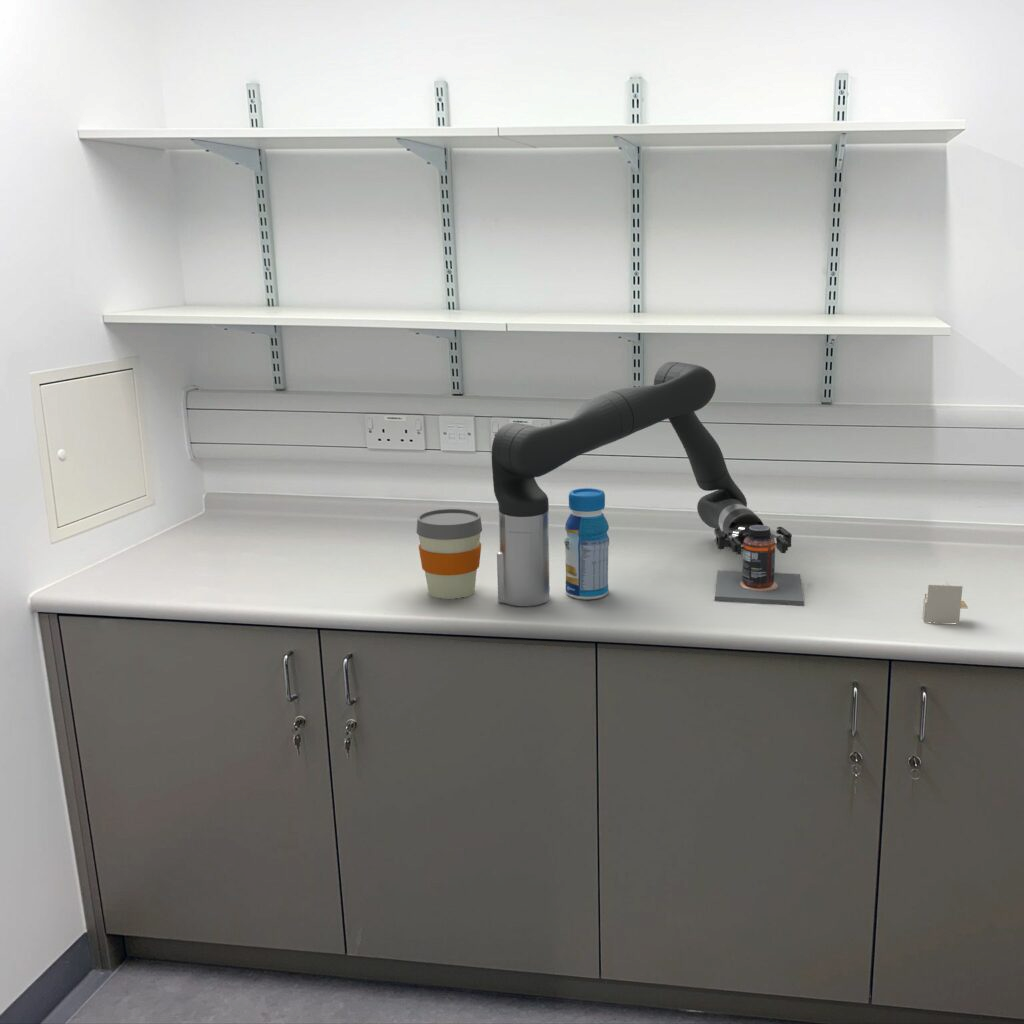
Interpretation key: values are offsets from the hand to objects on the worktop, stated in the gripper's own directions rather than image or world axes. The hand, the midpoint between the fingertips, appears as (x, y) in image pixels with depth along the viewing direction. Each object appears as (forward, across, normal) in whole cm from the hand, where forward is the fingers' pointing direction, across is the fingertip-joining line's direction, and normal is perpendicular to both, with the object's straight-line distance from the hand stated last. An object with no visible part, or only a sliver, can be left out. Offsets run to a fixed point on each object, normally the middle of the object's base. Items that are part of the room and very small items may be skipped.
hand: (761, 548), depth 198 cm
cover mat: (-1, 0, +8) cm, 8 cm away
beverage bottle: (-1, -33, +8) cm, 34 cm away
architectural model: (+19, +26, +9) cm, 34 cm away
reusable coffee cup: (-5, -59, +8) cm, 60 cm away
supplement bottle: (-1, 0, +8) cm, 8 cm away
